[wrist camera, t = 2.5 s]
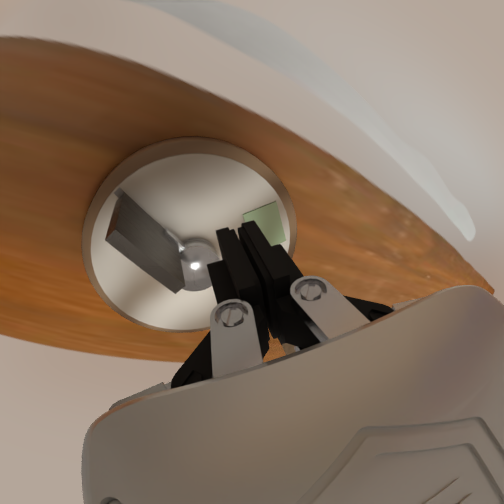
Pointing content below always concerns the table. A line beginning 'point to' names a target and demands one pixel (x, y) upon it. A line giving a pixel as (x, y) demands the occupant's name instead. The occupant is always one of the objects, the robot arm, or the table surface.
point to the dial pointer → (159, 248)
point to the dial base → (182, 222)
